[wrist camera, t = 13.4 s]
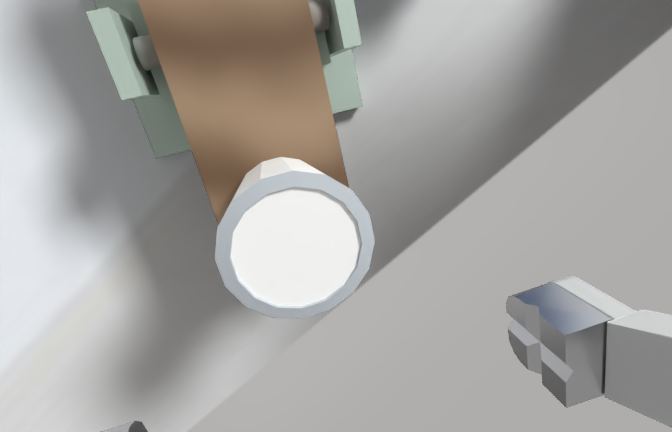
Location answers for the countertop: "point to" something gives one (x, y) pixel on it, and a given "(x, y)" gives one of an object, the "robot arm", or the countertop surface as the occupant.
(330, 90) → the pivot stand
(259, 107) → the seesaw beam
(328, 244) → the white cup
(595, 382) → the robot arm
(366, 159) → the countertop surface
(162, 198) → the countertop surface
